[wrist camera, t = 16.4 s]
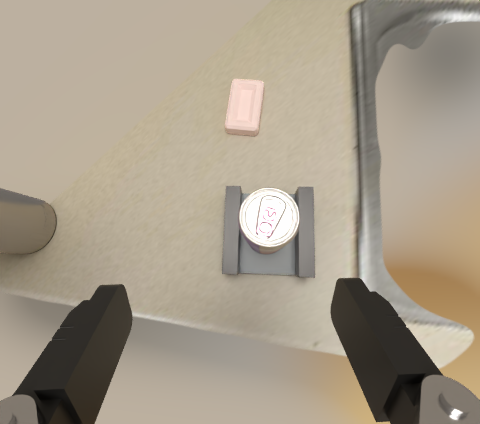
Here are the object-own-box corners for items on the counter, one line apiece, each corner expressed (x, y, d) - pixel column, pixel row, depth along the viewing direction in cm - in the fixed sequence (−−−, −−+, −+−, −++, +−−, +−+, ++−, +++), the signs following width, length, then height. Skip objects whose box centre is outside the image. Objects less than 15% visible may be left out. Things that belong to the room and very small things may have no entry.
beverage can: (240, 246, 38) (227, 236, 23) (253, 209, 39) (248, 177, 24) (279, 259, 37) (290, 258, 23) (291, 221, 38) (310, 196, 24)
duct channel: (308, 275, 38) (315, 277, 33) (226, 272, 39) (221, 273, 34) (306, 196, 40) (313, 186, 35) (230, 195, 41) (226, 185, 36)
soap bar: (264, 89, 44) (264, 79, 42) (257, 137, 43) (257, 130, 40) (233, 86, 45) (232, 77, 42) (226, 134, 43) (224, 127, 41)
